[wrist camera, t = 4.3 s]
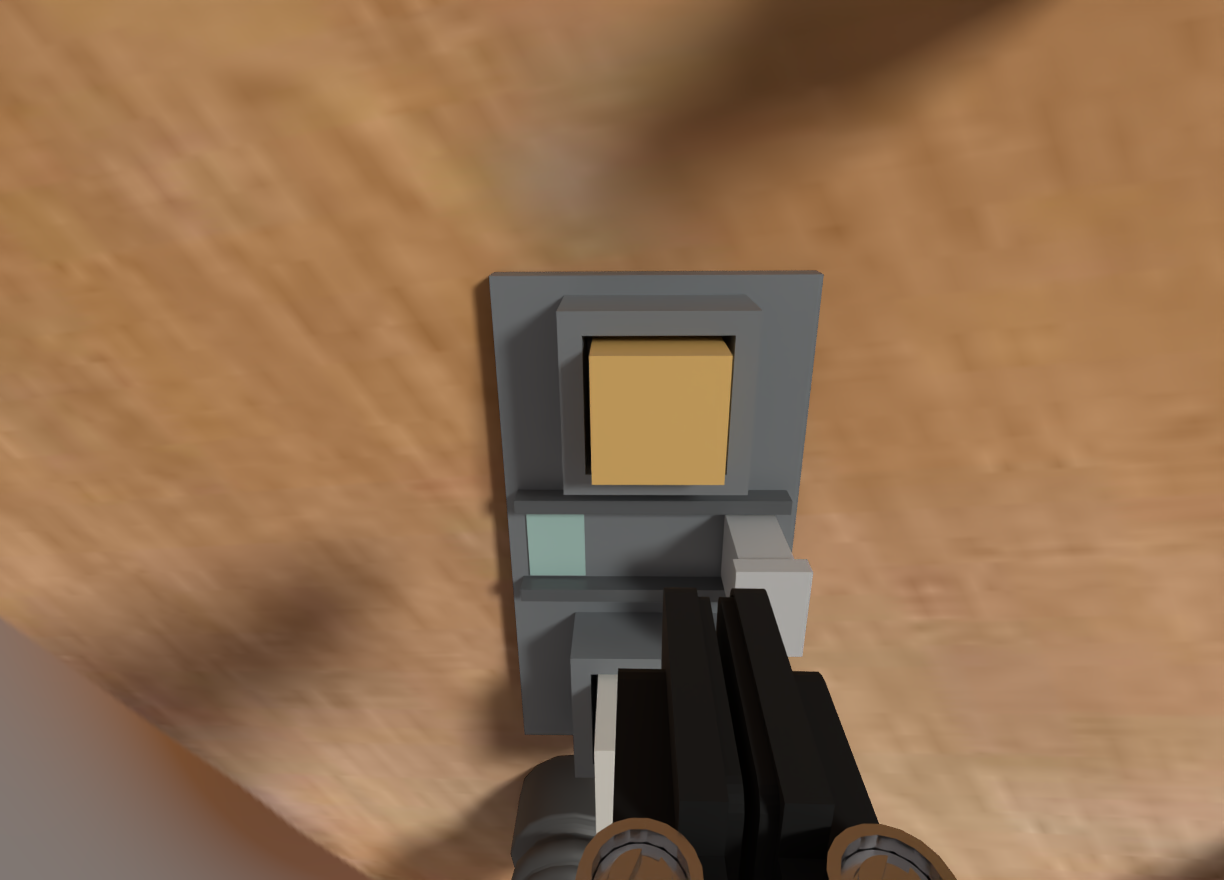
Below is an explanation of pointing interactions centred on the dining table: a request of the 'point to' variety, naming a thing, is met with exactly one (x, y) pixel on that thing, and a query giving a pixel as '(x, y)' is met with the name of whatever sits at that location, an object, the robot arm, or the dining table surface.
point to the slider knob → (768, 572)
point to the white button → (605, 749)
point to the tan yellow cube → (659, 409)
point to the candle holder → (553, 822)
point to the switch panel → (632, 514)
